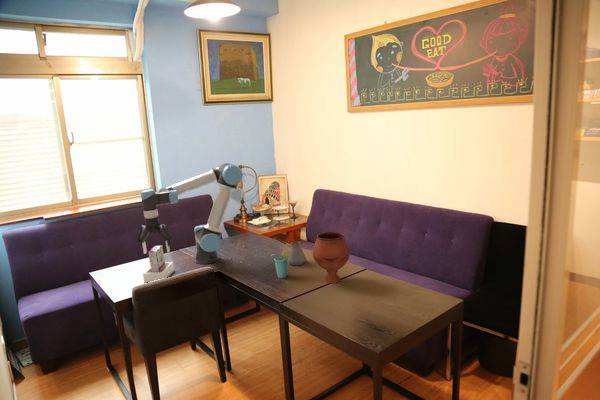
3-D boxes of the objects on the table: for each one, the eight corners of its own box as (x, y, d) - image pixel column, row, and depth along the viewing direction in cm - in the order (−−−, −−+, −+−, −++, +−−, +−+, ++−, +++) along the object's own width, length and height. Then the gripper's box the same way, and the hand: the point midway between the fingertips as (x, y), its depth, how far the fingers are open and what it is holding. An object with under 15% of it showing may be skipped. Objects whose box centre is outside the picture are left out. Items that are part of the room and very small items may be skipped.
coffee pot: (309, 261, 248) (308, 237, 245) (300, 267, 238) (298, 243, 235) (280, 257, 259) (278, 234, 256) (270, 263, 249) (268, 239, 246)
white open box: (174, 270, 246) (173, 261, 245) (164, 281, 229) (162, 272, 228) (155, 271, 247) (154, 262, 246) (144, 282, 230) (142, 273, 229)
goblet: (348, 272, 226) (346, 229, 221) (352, 286, 208) (350, 239, 203) (314, 274, 227) (311, 230, 222) (314, 288, 208) (311, 241, 203)
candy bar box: (158, 271, 244) (154, 245, 240) (166, 271, 244) (162, 245, 240) (151, 279, 233) (147, 251, 229) (160, 278, 233) (156, 251, 229)
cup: (277, 282, 218) (275, 256, 215) (267, 279, 223) (265, 253, 220) (294, 274, 229) (292, 248, 226) (284, 271, 234) (282, 246, 231)
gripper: (175, 213, 234) (180, 248, 239) (132, 216, 235) (138, 251, 240) (170, 216, 227) (176, 253, 231) (127, 220, 228) (133, 256, 232)
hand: (157, 252), depth 235 cm, fingers open, 13 cm apart
